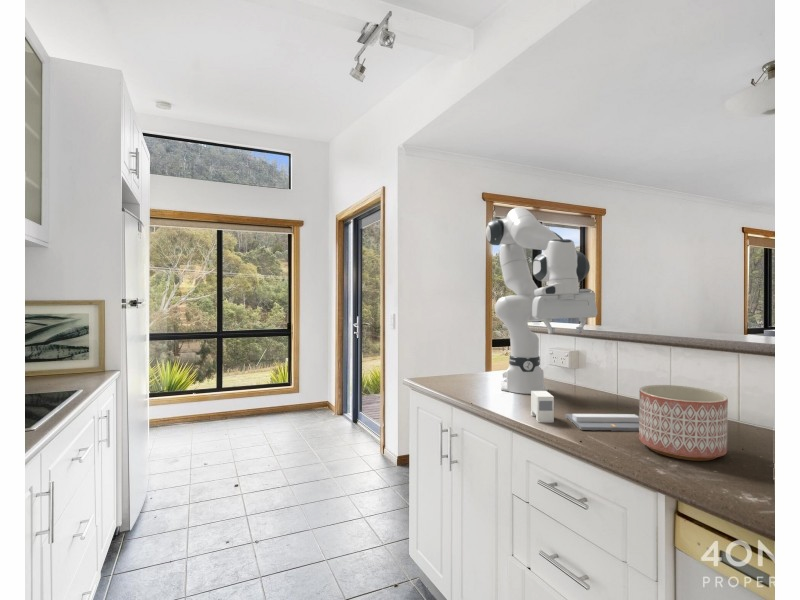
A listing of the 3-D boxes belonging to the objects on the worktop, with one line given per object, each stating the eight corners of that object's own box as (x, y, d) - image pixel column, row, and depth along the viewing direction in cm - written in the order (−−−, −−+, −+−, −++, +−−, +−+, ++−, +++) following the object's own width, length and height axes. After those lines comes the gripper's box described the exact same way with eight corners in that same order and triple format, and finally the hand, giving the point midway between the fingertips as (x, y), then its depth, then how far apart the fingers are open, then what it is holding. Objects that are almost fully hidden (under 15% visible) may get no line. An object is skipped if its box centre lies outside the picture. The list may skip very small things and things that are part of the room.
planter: (650, 432, 130) (651, 381, 129) (732, 449, 116) (733, 392, 116) (628, 450, 116) (629, 393, 115) (719, 470, 102) (720, 406, 102)
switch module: (530, 415, 148) (531, 390, 148) (546, 415, 148) (546, 390, 148) (537, 422, 140) (537, 396, 140) (553, 422, 140) (553, 396, 140)
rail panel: (565, 416, 146) (565, 409, 146) (627, 417, 145) (628, 409, 145) (581, 430, 132) (581, 422, 132) (650, 431, 131) (650, 422, 131)
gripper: (589, 289, 146) (591, 331, 146) (529, 290, 144) (531, 333, 143) (600, 287, 140) (602, 332, 139) (537, 289, 138) (539, 334, 137)
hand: (565, 333), depth 141 cm, fingers open, 8 cm apart
